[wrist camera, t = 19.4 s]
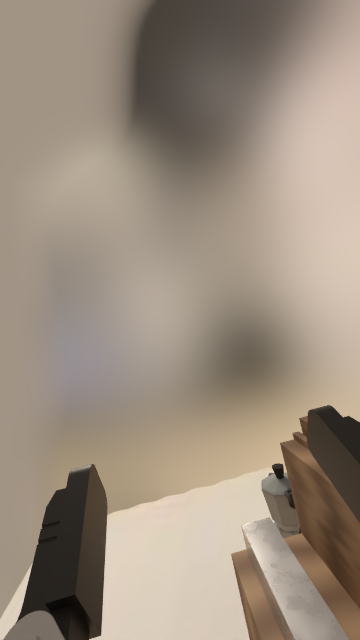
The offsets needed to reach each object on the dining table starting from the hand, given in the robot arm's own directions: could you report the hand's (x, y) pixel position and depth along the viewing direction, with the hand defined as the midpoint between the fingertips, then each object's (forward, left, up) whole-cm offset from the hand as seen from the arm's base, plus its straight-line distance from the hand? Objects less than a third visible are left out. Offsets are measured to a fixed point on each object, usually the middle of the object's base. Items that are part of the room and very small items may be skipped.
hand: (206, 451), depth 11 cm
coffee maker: (+50, +13, -43) cm, 67 cm away
